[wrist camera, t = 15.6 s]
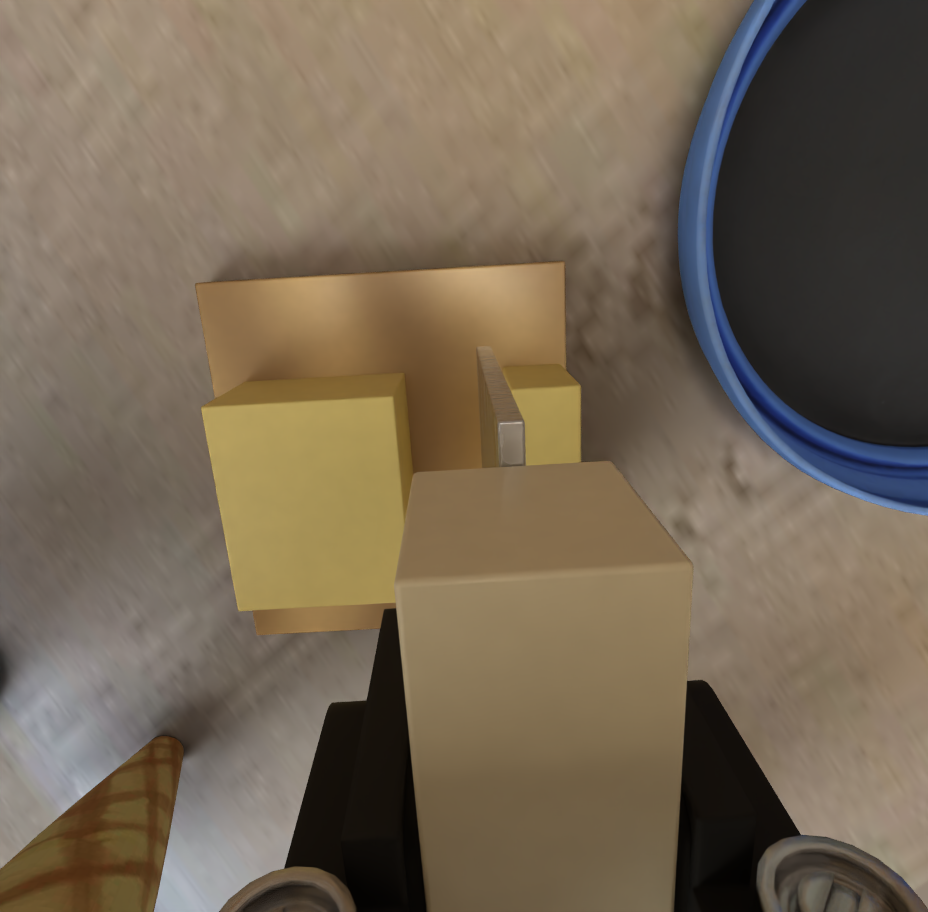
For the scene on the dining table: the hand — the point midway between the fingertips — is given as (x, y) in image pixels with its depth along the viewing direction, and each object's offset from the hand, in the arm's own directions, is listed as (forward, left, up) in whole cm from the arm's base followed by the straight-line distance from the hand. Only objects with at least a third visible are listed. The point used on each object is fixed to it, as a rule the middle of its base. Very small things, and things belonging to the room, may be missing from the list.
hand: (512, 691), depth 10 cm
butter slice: (+2, 0, -12) cm, 12 cm away
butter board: (-3, 0, -13) cm, 13 cm away
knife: (0, 0, -5) cm, 5 cm away
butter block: (-5, 0, -12) cm, 12 cm away
